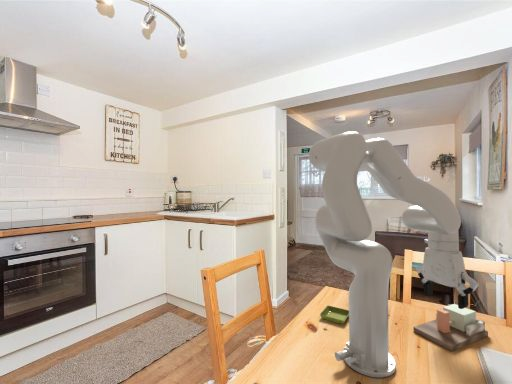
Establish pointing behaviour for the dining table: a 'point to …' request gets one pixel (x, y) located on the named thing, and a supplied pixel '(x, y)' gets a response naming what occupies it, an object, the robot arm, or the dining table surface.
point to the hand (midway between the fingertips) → (444, 301)
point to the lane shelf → (452, 334)
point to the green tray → (335, 314)
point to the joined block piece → (454, 318)
